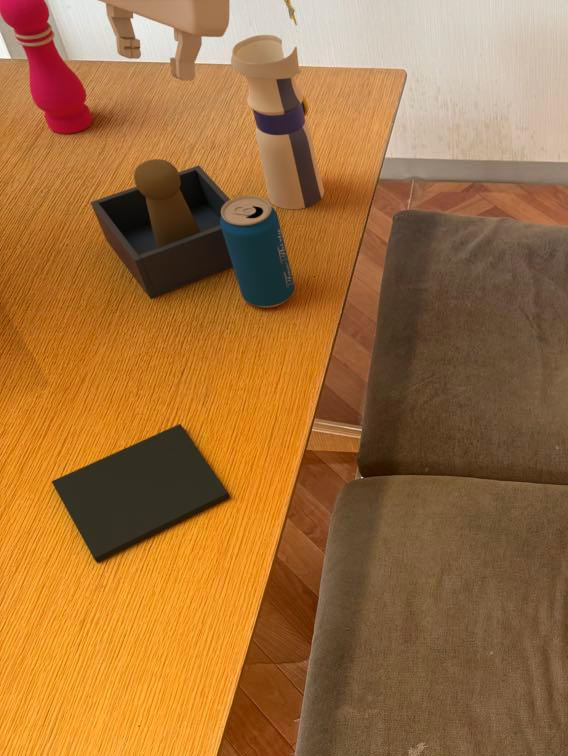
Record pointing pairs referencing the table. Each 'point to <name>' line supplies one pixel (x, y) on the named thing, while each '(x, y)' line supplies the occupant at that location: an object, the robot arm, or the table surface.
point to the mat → (139, 491)
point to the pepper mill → (47, 67)
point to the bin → (176, 260)
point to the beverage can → (257, 250)
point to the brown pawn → (165, 202)
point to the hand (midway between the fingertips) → (155, 67)
